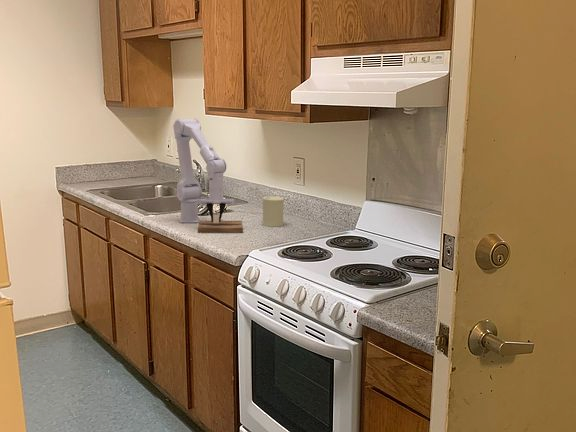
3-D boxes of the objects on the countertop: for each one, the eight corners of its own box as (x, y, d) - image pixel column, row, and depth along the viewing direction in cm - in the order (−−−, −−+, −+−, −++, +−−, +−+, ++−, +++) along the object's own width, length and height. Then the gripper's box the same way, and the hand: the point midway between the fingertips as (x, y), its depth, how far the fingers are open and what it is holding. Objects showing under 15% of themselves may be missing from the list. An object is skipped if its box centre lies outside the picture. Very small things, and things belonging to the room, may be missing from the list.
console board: (199, 225, 253) (199, 220, 252) (241, 225, 255) (241, 220, 254) (197, 232, 239) (197, 227, 239) (242, 232, 241) (242, 227, 241)
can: (259, 222, 261) (259, 195, 258) (279, 221, 264) (279, 195, 262) (266, 227, 252) (266, 199, 250) (286, 226, 256) (287, 198, 253)
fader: (213, 222, 248) (213, 212, 248) (219, 222, 249) (219, 212, 248) (213, 224, 244) (213, 214, 243) (219, 224, 244) (219, 214, 243)
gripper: (197, 190, 239) (198, 223, 241) (234, 190, 240) (233, 223, 243) (198, 187, 245) (198, 219, 248) (233, 187, 247) (233, 219, 250)
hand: (216, 221), depth 246 cm, fingers closed on fader, 2 cm apart
